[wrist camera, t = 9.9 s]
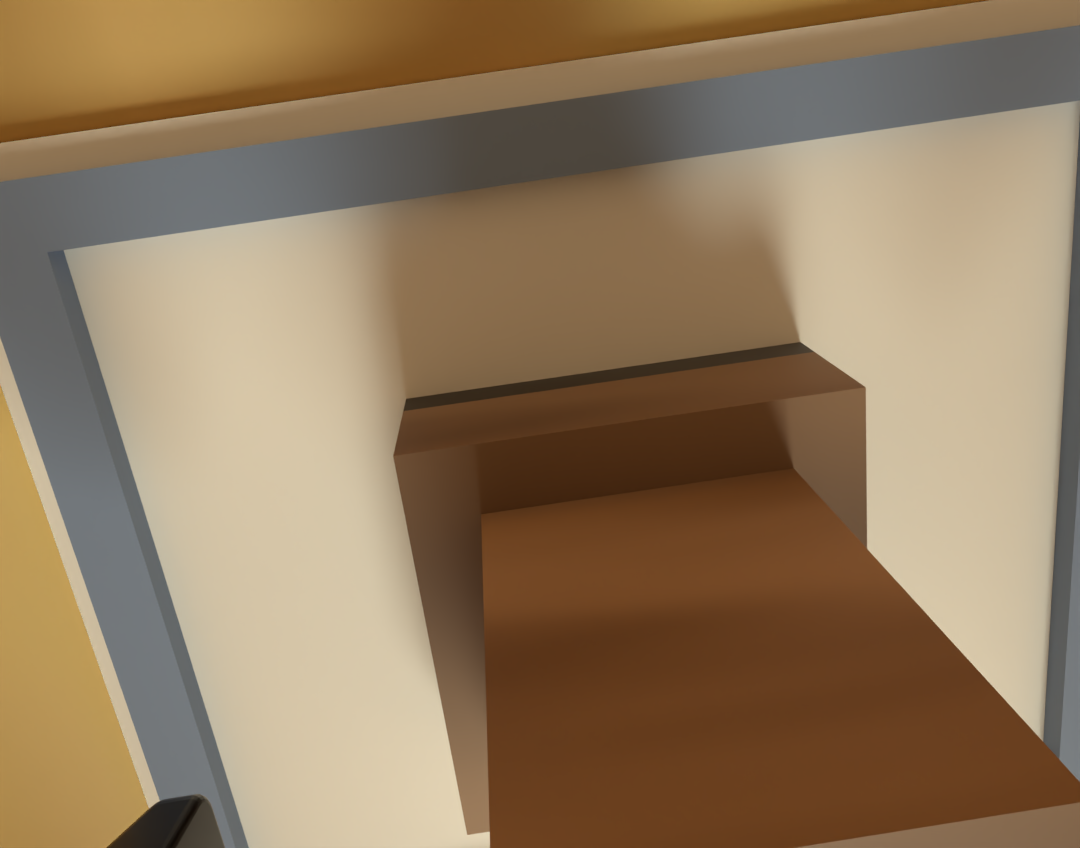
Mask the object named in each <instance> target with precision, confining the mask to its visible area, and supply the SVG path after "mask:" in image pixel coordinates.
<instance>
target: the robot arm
mask: <svg viewBox="0 0 1080 848" xmlns="http://www.w3.org/2000/svg"><path fill="white" fill-rule="evenodd" d="M107 848H225V845H224V842H223V839H222V836H221V833H220V830H219V827H218V823H217V820H216V817H215V814H214V811H213V808H212V806H211V803H210V802H209V800H208V799H207V797H205V796H203V795H201V794H193V795H187V796H181V797H175V798H168V799H164V800H161V801H159V802H157V803H155V804H154V805H153V806H152V807H150V808H149V809H148V810H147V811H146V812H145V813H144V814H143V815H142V816H141V817H140V818H138V819H137V820H136V821H135V822H134V823H133V824H132V825H131V826H130V827H129V828H128V829H126V830H125V831H124V832H123V833H122V834H121V835H120V836H119V837H118V838H117V839H115V840H114V841H113V842H112V843H111V844H110V845H109V846H108V847H107Z"/></svg>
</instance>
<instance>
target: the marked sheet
mask: <svg viewBox="0 0 1080 848" xmlns="http://www.w3.org/2000/svg"><path fill="white" fill-rule="evenodd" d="M797 342H801V343H803V344H804V345H805V346H807V347H808V348H810V349H811V350H813V351H814V352H816V353H817V354H818V355H820V356H821V357H823V358H824V359H826V360H827V361H829V362H830V363H831V364H833V365H834V366H836V367H837V368H839V369H840V370H842V371H843V372H844V373H846V374H847V375H849V376H850V377H852V378H853V379H855V380H856V381H857V382H859V383H860V384H862V385H863V386H865V387H866V470H867V549H868V550H869V551H870V552H871V554H872V555H873V556H874V557H875V558H876V559H877V560H878V561H879V562H880V563H881V565H882V566H883V567H884V568H885V569H886V570H887V571H888V572H889V573H890V574H891V575H892V577H893V578H894V579H895V580H896V581H897V582H898V583H899V584H900V585H901V586H902V588H903V589H904V590H905V591H906V592H907V593H908V594H909V595H910V596H911V597H912V599H913V600H914V601H915V602H916V603H917V604H918V605H919V606H920V607H921V608H922V609H923V611H924V612H925V613H926V614H927V615H928V616H929V617H930V618H931V619H932V620H933V622H934V623H935V624H936V625H937V626H938V627H939V628H940V629H941V630H942V631H943V632H944V634H945V635H946V636H947V637H948V638H949V639H950V640H951V641H952V642H953V643H954V645H955V646H956V647H957V648H958V649H959V650H960V651H961V652H962V653H963V654H964V656H965V657H966V658H967V659H968V660H969V661H970V662H971V663H972V664H973V665H974V666H975V668H976V669H977V670H978V671H979V672H980V673H981V674H982V675H983V676H984V677H985V679H986V680H987V681H988V682H989V683H990V684H991V685H992V686H993V687H994V688H995V690H996V691H997V692H998V693H999V694H1000V695H1001V696H1002V697H1003V698H1004V699H1005V700H1006V702H1007V703H1008V704H1009V705H1010V706H1011V707H1012V708H1013V709H1014V710H1015V711H1016V713H1017V714H1018V715H1019V716H1020V717H1021V718H1022V719H1023V720H1024V721H1025V722H1026V723H1027V725H1028V726H1029V727H1030V728H1031V729H1032V730H1033V731H1034V732H1035V733H1036V734H1037V736H1038V737H1039V738H1040V739H1041V740H1042V741H1043V742H1044V743H1045V744H1046V745H1047V747H1048V748H1049V749H1050V750H1051V751H1052V752H1053V753H1054V754H1055V755H1056V756H1057V757H1058V759H1059V760H1060V761H1061V762H1062V763H1063V764H1064V765H1065V766H1066V767H1067V768H1068V770H1069V771H1070V772H1071V773H1072V774H1073V775H1074V776H1075V777H1076V778H1077V779H1078V781H1079V782H1080V0H989V1H982V2H975V3H968V4H961V5H954V6H947V7H940V8H933V9H927V10H920V11H913V12H906V13H899V14H892V15H885V16H878V17H871V18H864V19H857V20H850V21H843V22H836V23H829V24H822V25H816V26H809V27H802V28H795V29H788V30H781V31H774V32H767V33H760V34H753V35H746V36H739V37H732V38H725V39H718V40H711V41H704V42H698V43H691V44H684V45H677V46H670V47H663V48H656V49H649V50H642V51H635V52H628V53H621V54H614V55H607V56H600V57H593V58H587V59H580V60H573V61H566V62H559V63H552V64H545V65H538V66H531V67H524V68H517V69H510V70H503V71H496V72H489V73H482V74H476V75H469V76H462V77H455V78H448V79H441V80H434V81H427V82H420V83H413V84H406V85H399V86H392V87H385V88H378V89H371V90H365V91H358V92H351V93H344V94H337V95H330V96H323V97H316V98H309V99H302V100H295V101H288V102H281V103H274V104H267V105H260V106H254V107H247V108H240V109H233V110H226V111H219V112H212V113H205V114H198V115H191V116H184V117H177V118H170V119H163V120H156V121H149V122H143V123H136V124H129V125H122V126H115V127H108V128H101V129H94V130H87V131H80V132H73V133H66V134H59V135H52V136H45V137H38V138H31V139H25V140H18V141H11V142H4V143H0V385H1V388H2V391H3V394H4V396H5V399H6V402H7V405H8V408H9V411H10V414H11V416H12V419H13V422H14V425H15V428H16V431H17V434H18V436H19V439H20V442H21V445H22V448H23V451H24V453H25V456H26V459H27V462H28V465H29V468H30V471H31V473H32V476H33V479H34V482H35V485H36V488H37V491H38V493H39V496H40V499H41V502H42V505H43V508H44V511H45V513H46V516H47V519H48V522H49V525H50V528H51V530H52V533H53V536H54V539H55V542H56V545H57V548H58V550H59V553H60V556H61V559H62V562H63V565H64V568H65V570H66V573H67V576H68V579H69V582H70V585H71V588H72V590H73V593H74V596H75V599H76V602H77V605H78V608H79V610H80V613H81V616H82V619H83V622H84V625H85V627H86V630H87V633H88V636H89V639H90V642H91V645H92V647H93V650H94V653H95V656H96V659H97V662H98V665H99V667H100V670H101V673H102V676H103V679H104V682H105V685H106V687H107V690H108V693H109V696H110V699H111V702H112V704H113V707H114V710H115V713H116V716H117V719H118V722H119V724H120V727H121V730H122V733H123V736H124V739H125V742H126V744H127V747H128V750H129V753H130V756H131V759H132V762H133V764H134V767H135V770H136V773H137V776H138V779H139V782H140V784H141V787H142V790H143V793H144V796H145V799H146V801H147V804H148V807H149V808H150V807H152V806H153V805H154V804H155V803H157V802H159V801H161V800H164V799H168V798H175V797H181V796H187V795H193V794H201V795H203V796H205V797H207V799H208V800H209V802H210V803H211V806H212V808H213V811H214V814H215V817H216V820H217V823H218V827H219V830H220V833H221V836H222V839H223V842H224V845H225V848H490V832H484V833H477V834H471V835H467V831H466V826H465V821H464V816H463V811H462V806H461V801H460V796H459V790H458V785H457V780H456V775H455V770H454V765H453V760H452V755H451V750H450V744H449V739H448V734H447V729H446V724H445V719H444V714H443V709H442V704H441V698H440V693H439V688H438V683H437V678H436V673H435V668H434V663H433V657H432V652H431V647H430V642H429V637H428V632H427V627H426V622H425V617H424V611H423V606H422V601H421V596H420V591H419V586H418V581H417V576H416V571H415V565H414V560H413V555H412V550H411V545H410V540H409V535H408V530H407V524H406V519H405V514H404V509H403V504H402V499H401V494H400V489H399V484H398V478H397V473H396V468H395V463H394V458H393V454H394V450H395V446H396V441H397V437H398V432H399V428H400V423H401V419H402V415H403V410H404V406H405V401H406V399H408V398H415V397H422V396H429V395H436V394H443V393H450V392H457V391H464V390H470V389H477V388H484V387H491V386H498V385H505V384H512V383H519V382H526V381H533V380H540V379H547V378H554V377H561V376H568V375H575V374H582V373H589V372H595V371H602V370H609V369H616V368H623V367H630V366H637V365H644V364H651V363H658V362H665V361H672V360H679V359H686V358H693V357H700V356H707V355H714V354H720V353H727V352H734V351H741V350H748V349H755V348H762V347H769V346H776V345H783V344H790V343H797Z"/></svg>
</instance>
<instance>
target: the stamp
mask: <svg viewBox="0 0 1080 848" xmlns="http://www.w3.org/2000/svg"><path fill="white" fill-rule="evenodd" d="M393 458H394V463H395V468H396V473H397V478H398V484H399V489H400V494H401V499H402V504H403V509H404V514H405V519H406V524H407V530H408V535H409V540H410V545H411V550H412V555H413V560H414V565H415V571H416V576H417V581H418V586H419V591H420V596H421V601H422V606H423V611H424V617H425V622H426V627H427V632H428V637H429V642H430V647H431V652H432V657H433V663H434V668H435V673H436V678H437V683H438V688H439V693H440V698H441V704H442V709H443V714H444V719H445V724H446V729H447V734H448V739H449V744H450V750H451V755H452V760H453V765H454V770H455V775H456V780H457V785H458V790H459V796H460V801H461V806H462V811H463V816H464V821H465V826H466V831H467V835H471V834H477V833H484V832H490V848H1080V782H1079V781H1078V779H1077V778H1076V777H1075V776H1074V775H1073V774H1072V773H1071V772H1070V771H1069V770H1068V768H1067V767H1066V766H1065V765H1064V764H1063V763H1062V762H1061V761H1060V760H1059V759H1058V757H1057V756H1056V755H1055V754H1054V753H1053V752H1052V751H1051V750H1050V749H1049V748H1048V747H1047V745H1046V744H1045V743H1044V742H1043V741H1042V740H1041V739H1040V738H1039V737H1038V736H1037V734H1036V733H1035V732H1034V731H1033V730H1032V729H1031V728H1030V727H1029V726H1028V725H1027V723H1026V722H1025V721H1024V720H1023V719H1022V718H1021V717H1020V716H1019V715H1018V714H1017V713H1016V711H1015V710H1014V709H1013V708H1012V707H1011V706H1010V705H1009V704H1008V703H1007V702H1006V700H1005V699H1004V698H1003V697H1002V696H1001V695H1000V694H999V693H998V692H997V691H996V690H995V688H994V687H993V686H992V685H991V684H990V683H989V682H988V681H987V680H986V679H985V677H984V676H983V675H982V674H981V673H980V672H979V671H978V670H977V669H976V668H975V666H974V665H973V664H972V663H971V662H970V661H969V660H968V659H967V658H966V657H965V656H964V654H963V653H962V652H961V651H960V650H959V649H958V648H957V647H956V646H955V645H954V643H953V642H952V641H951V640H950V639H949V638H948V637H947V636H946V635H945V634H944V632H943V631H942V630H941V629H940V628H939V627H938V626H937V625H936V624H935V623H934V622H933V620H932V619H931V618H930V617H929V616H928V615H927V614H926V613H925V612H924V611H923V609H922V608H921V607H920V606H919V605H918V604H917V603H916V602H915V601H914V600H913V599H912V597H911V596H910V595H909V594H908V593H907V592H906V591H905V590H904V589H903V588H902V586H901V585H900V584H899V583H898V582H897V581H896V580H895V579H894V578H893V577H892V575H891V574H890V573H889V572H888V571H887V570H886V569H885V568H884V567H883V566H882V565H881V563H880V562H879V561H878V560H877V559H876V558H875V557H874V556H873V555H872V554H871V552H870V551H869V550H868V549H867V470H866V387H865V386H863V385H862V384H860V383H859V382H857V381H856V380H855V379H853V378H852V377H850V376H849V375H847V374H846V373H844V372H843V371H842V370H840V369H839V368H837V367H836V366H834V365H833V364H831V363H830V362H829V361H827V360H826V359H824V358H823V357H821V356H820V355H818V354H817V353H816V352H814V351H813V350H811V349H810V348H808V347H807V346H805V345H804V344H803V343H801V342H797V343H790V344H783V345H776V346H769V347H762V348H755V349H748V350H741V351H734V352H727V353H720V354H714V355H707V356H700V357H693V358H686V359H679V360H672V361H665V362H658V363H651V364H644V365H637V366H630V367H623V368H616V369H609V370H602V371H595V372H589V373H582V374H575V375H568V376H561V377H554V378H547V379H540V380H533V381H526V382H519V383H512V384H505V385H498V386H491V387H484V388H477V389H470V390H464V391H457V392H450V393H443V394H436V395H429V396H422V397H415V398H408V399H406V401H405V406H404V410H403V415H402V419H401V423H400V428H399V432H398V437H397V441H396V446H395V450H394V454H393Z"/></svg>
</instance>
